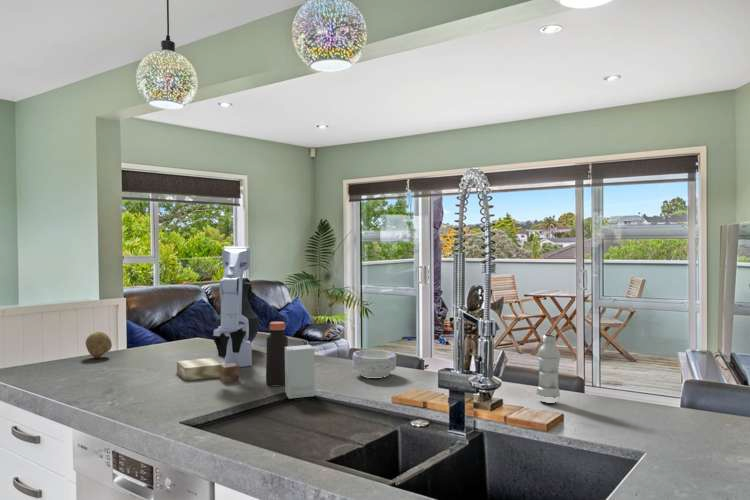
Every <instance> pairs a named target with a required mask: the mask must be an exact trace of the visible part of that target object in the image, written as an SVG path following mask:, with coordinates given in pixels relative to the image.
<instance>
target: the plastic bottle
mask: <svg viewBox="0 0 750 500" xmlns="http://www.w3.org/2000/svg"><path fill="white" fill-rule="evenodd" d="M556 339H557V336H556V335H553V334H543V335H542V344H541V346H540V347H539V348H538V351H537V360H538V370H539V371H538V372H539V374H538V375H539V376H538V386H537V389H536V395H537V394H538V395H540V396H544V397H553V398H556V397H559V396H561V394H560V388H559V366H560V365H559V364H560V359H561V351H560V350H559V348H558V347H557V345H556V343H557V340H556ZM559 398H560V397H559Z"/></svg>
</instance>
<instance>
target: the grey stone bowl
mask: <svg viewBox="0 0 750 500" xmlns="http://www.w3.org/2000/svg"><path fill="white" fill-rule="evenodd" d="M396 365H397V354H396V353H394V352H391V351H388V350H383V349H361V350H356V351H354V352H353V353H352V368H353V369H354V370H357V373H358V375H359V374H360V375H362V376H367V377H384V376H387V375H388V376H389V375H390V374H391V371H394V370H396V369H397V368H396V367H397V366H396ZM360 375H359V376H360ZM362 376H361V377H362ZM388 376H387V377H388Z"/></svg>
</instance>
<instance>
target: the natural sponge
mask: <svg viewBox="0 0 750 500" xmlns="http://www.w3.org/2000/svg"><path fill="white" fill-rule="evenodd" d="M112 346H113V344H112V340H111V338H110V337H109V336H108V334H106V333H104V332H101V331H96V332H93V333H91V334H89V336H88V337H87V338H86V340H85V347H86V350H87V352H88V353H89V355H90V356H91V357H93V358H94V359H100V358H101V357H102V356H103V355H105V354H106V353H108V352H109V351H110V350H111V349H112Z"/></svg>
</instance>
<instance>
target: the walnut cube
mask: <svg viewBox="0 0 750 500" xmlns="http://www.w3.org/2000/svg"><path fill="white" fill-rule="evenodd" d="M219 380H220V381H221V382H223V383H232V382H239V381H240V367H239V366H238V365H237V364H235V363H230V364H221V363H220V376H219Z"/></svg>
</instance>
